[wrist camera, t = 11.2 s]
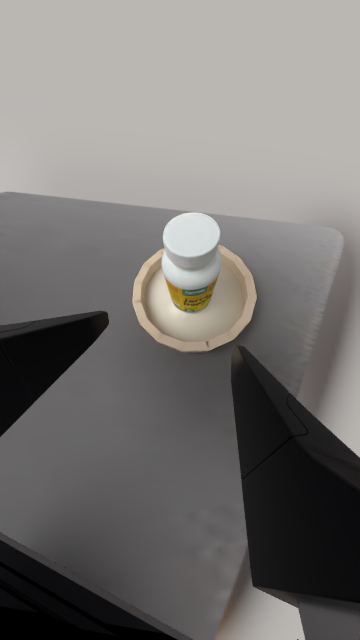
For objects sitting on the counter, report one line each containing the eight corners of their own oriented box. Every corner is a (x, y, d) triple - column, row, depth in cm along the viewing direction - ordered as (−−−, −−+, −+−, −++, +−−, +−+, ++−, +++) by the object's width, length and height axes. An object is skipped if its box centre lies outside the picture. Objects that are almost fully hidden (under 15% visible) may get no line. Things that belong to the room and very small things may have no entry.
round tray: (230, 371, 16) (236, 372, 14) (121, 328, 19) (111, 323, 17) (258, 269, 20) (267, 257, 18) (164, 244, 23) (161, 230, 20)
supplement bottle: (198, 272, 20) (205, 194, 10) (218, 302, 18) (248, 242, 9) (164, 289, 19) (141, 223, 10) (182, 321, 18) (175, 279, 9)
